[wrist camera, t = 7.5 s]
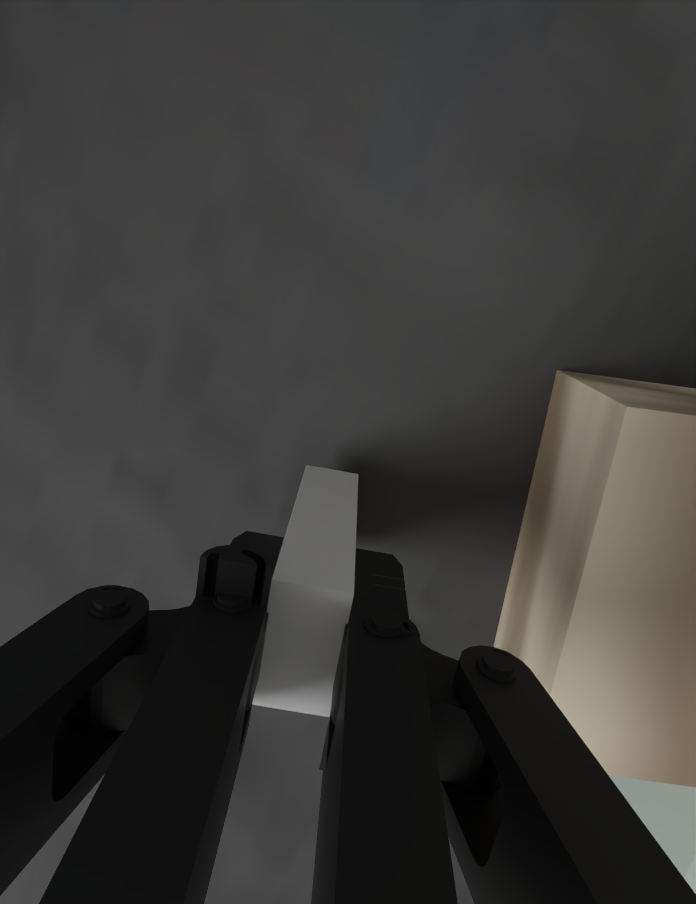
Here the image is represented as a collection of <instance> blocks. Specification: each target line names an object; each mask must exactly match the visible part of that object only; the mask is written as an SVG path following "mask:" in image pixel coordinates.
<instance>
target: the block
mask: <svg viewBox="0 0 696 904" xmlns="http://www.w3.org/2000/svg"><path fill="white" fill-rule="evenodd" d="M494 647H495V648H499V649H501V650H505V651H507V652H509V653H510V654H512V655H514V656H515V657H517V658H519V659H520V660H522V661H523V662H524V663H525V664H526V665H527V666H528V667H529V668H530V669H531V671H532V672H533V673H534V675H535V676H536V677H537V679H538V680H539V681H540V683H541V684H542V686H543V687H544V688H545V690H546V691H547V692H548V694H549V695H550V696H551V698H552V699H553V701H554V702H555V703H556V705H557V706H558V707H559V709H560V710H561V711H562V713H563V714H564V716H565V717H566V718H567V720H568V721H569V722H570V724H571V725H572V726H573V728H574V729H575V731H576V732H577V733H578V735H579V736H580V737H581V739H582V740H583V741H584V743H585V744H586V745H587V747H588V748H589V750H590V751H591V752H592V754H593V755H594V756H595V758H596V759H597V760H598V762H599V763H600V765H601V766H602V767H603V769H604V770H605V771H606V773H607V774H608V775H609V776H616V777H623V778H630V779H638V780H645V781H652V782H660V783H667V784H674V785H682V786H689V787H696V388H688V387H681V386H673V385H666V384H659V383H651V382H644V381H636V380H629V379H622V378H614V377H607V376H599V375H592V374H584V373H577V372H570V371H562V370H557V372H556V377H555V381H554V385H553V390H552V394H551V399H550V403H549V407H548V412H547V416H546V420H545V425H544V429H543V433H542V438H541V442H540V446H539V451H538V455H537V460H536V464H535V468H534V473H533V477H532V481H531V486H530V490H529V494H528V499H527V503H526V508H525V512H524V516H523V521H522V525H521V529H520V534H519V538H518V542H517V547H516V551H515V555H514V560H513V564H512V569H511V573H510V577H509V582H508V586H507V590H506V595H505V599H504V603H503V608H502V612H501V616H500V621H499V625H498V630H497V634H496V638H495V643H494Z"/></svg>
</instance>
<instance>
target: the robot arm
mask: <svg viewBox="0 0 696 904" xmlns="http://www.w3.org/2000/svg"><path fill="white" fill-rule="evenodd" d="M357 499H358V474H355V473H349V472H344V471H338V470H332V469H327V468H321V467H315V466H310V465H306V467H305V471H304V474H303V477H302V481H301V484H300V487H299V491H298V494H297V497H296V500H295V504H294V507H293V510H292V514H291V517H290V520H289V524H288V527H287V530H286V534H285V537H278V536H272V535H267V534H261V533H255V532H249V531H246V532H244V533H243V534H241V535H239V536H238V537H236V538H234V539H233V541H232V543H231V545H226V546H217V547H214V548H212V549H209V550H206V551H205V552H204V553H203V554H202V555H201V556H200V564H199V573H198V582H197V591H196V597H195V599H194V601H193V603H192V605H190V606H188V607H184V608H180V609H173V610H151V611H149V601H148V600H147V598H146V597H145V596H144V595H143V594H142V593H140V592H138V591H136V590H134V589H132V588H127V587H122V586H116V585H112V586H111V585H107V586H100V587H95V588H91V589H87V590H85V591H83V592H81V593H79V594H77V595H75V596H74V597H72V598H71V599H69V600H68V601H66V602H65V603H63V604H62V605H60V606H59V607H58V608H56V609H55V610H53V611H52V612H50V613H49V614H47V615H46V616H44V617H43V618H41V619H40V620H39V621H37V622H36V623H34V624H33V625H31V626H30V627H28V628H27V629H25V630H24V631H22V632H21V633H20V634H18V635H17V636H15V637H14V638H12V639H11V640H9V641H8V642H6V643H5V644H3V645H2V646H1V647H0V895H1V894H2V893H3V892H4V891H5V890H6V888H7V887H8V886H9V885H10V884H11V883H12V881H13V880H14V879H15V878H16V877H17V876H18V874H19V873H20V872H21V871H22V870H23V869H24V867H25V866H26V865H27V864H28V863H29V862H30V860H31V859H32V858H33V857H34V856H35V855H36V853H37V852H38V851H39V850H40V849H41V848H42V846H43V845H44V844H45V843H46V842H47V841H48V839H49V838H50V837H51V836H52V835H53V834H54V832H55V831H56V830H57V829H58V828H59V827H60V825H61V824H62V823H63V822H64V821H65V820H66V818H67V817H68V816H69V815H70V814H71V813H72V811H73V810H74V809H75V808H76V807H77V806H78V804H79V803H80V802H81V801H82V800H83V799H84V797H85V796H86V795H87V794H88V793H89V792H90V790H91V789H92V788H93V787H94V786H95V785H96V783H97V782H98V781H99V780H100V779H101V778H102V776H103V775H104V774H105V775H104V777H103V779H102V781H101V783H100V785H99V787H98V789H97V791H96V793H95V795H94V797H93V799H92V801H91V803H90V805H89V807H88V809H87V811H86V813H85V815H84V817H83V819H82V820H81V822H80V824H79V826H78V828H77V830H76V832H75V834H74V836H73V838H72V840H71V842H70V844H69V846H68V848H67V850H66V852H65V854H64V856H63V858H62V860H61V862H60V864H59V866H58V868H57V869H56V871H55V873H54V875H53V877H52V879H51V881H50V883H49V885H48V887H47V889H46V891H45V893H44V895H43V897H42V899H41V901H40V903H39V904H204V901H205V897H206V893H207V889H208V885H209V881H210V877H211V873H212V869H213V865H214V861H215V857H216V853H217V850H218V846H219V842H220V838H221V834H222V830H223V826H224V822H225V818H226V814H227V810H228V806H229V802H230V798H231V794H232V790H233V786H234V782H235V778H236V774H237V770H238V766H239V762H240V758H241V754H242V750H243V746H244V742H245V738H246V734H247V730H248V726H249V721H250V715H251V708H252V705H258V706H264V707H270V708H276V709H282V710H288V711H294V712H300V713H306V714H313V715H319V716H325V717H329V716H330V719H329V724H328V729H327V734H326V739H325V744H324V749H323V754H322V759H321V764H320V770H323V776H322V787H321V799H320V810H319V821H318V832H317V844H316V855H315V866H314V877H313V889H312V900H311V904H458V903H457V896H456V889H455V882H454V875H453V868H452V861H451V854H450V847H449V839H450V842H451V844H452V847H453V850H454V852H455V855H456V857H457V860H458V862H459V865H460V867H461V870H462V873H463V875H464V878H465V880H466V883H467V885H468V888H469V890H470V893H471V896H472V898H473V901H474V903H475V904H696V894H695V893H694V891H693V890H692V888H691V887H690V886H689V884H688V883H687V882H686V880H685V879H684V878H683V876H682V875H681V873H680V872H679V871H678V869H677V868H676V867H675V865H674V864H673V863H672V861H671V860H670V859H669V857H668V856H667V854H666V853H665V852H664V850H663V849H662V848H661V846H660V845H659V844H658V842H657V841H656V839H655V838H654V837H653V835H652V834H651V833H650V831H649V830H648V829H647V827H646V826H645V824H644V823H643V822H642V820H641V819H640V818H639V816H638V815H637V814H636V812H635V811H634V809H633V808H632V807H631V805H630V804H629V803H628V801H627V800H626V799H625V797H624V796H623V795H622V793H621V792H620V790H619V789H618V788H617V786H616V785H615V784H614V782H613V781H612V780H611V778H610V777H609V775H608V774H607V773H606V771H605V770H604V769H603V767H602V766H601V765H600V763H599V762H598V760H597V759H596V758H595V756H594V755H593V754H592V752H591V751H590V750H589V748H588V747H587V745H586V744H585V743H584V741H583V740H582V739H581V737H580V736H579V735H578V733H577V732H576V731H575V729H574V728H573V726H572V725H571V724H570V722H569V721H568V720H567V718H566V717H565V716H564V714H563V713H562V711H561V710H560V709H559V707H558V706H557V705H556V703H555V702H554V701H553V699H552V698H551V696H550V695H549V694H548V692H547V691H546V690H545V688H544V687H543V686H542V684H541V683H540V681H539V680H538V679H537V677H536V676H535V675H534V673H533V672H532V671H531V669H530V668H529V667H528V666H527V665H526V664H525V663H524V662H523V661H522V660H520V659H519V658H517V657H515V656H514V655H512V654H510V653H509V652H507V651H505V650H501V649H499V648H495V647H488V646H473V647H469V648H467V649H466V650H464V651H462V654H461V656H460V659H459V661H458V660H455V659H452V658H450V657H447V656H444V655H442V654H440V653H438V652H435V651H433V650H431V649H430V648H428V647H427V646H425V645H424V644H422V643H421V641H420V634H419V631H418V629H417V627H416V625H415V624H414V623H413V622H412V621H411V620H409V616H408V608H407V599H406V591H405V583H404V575H403V566H402V565H401V564H400V563H399V562H398V560H397V559H396V558H395V557H394V556H393V555H392V554H386V553H380V552H375V551H369V550H363V549H357V548H356V527H357ZM252 702H253V703H252ZM330 711H331V714H330ZM448 837H449V839H448Z"/></svg>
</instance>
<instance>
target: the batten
mask: <svg viewBox="0 0 696 904" xmlns="http://www.w3.org/2000/svg"><path fill="white" fill-rule="evenodd" d="M609 777H610V778H611V780H612V781H613V782H614V784H615V785H616V786H617V788H618V789H619V790H620V792H621V793H622V795H623V796H624V797H625V799H626V800H627V801H628V803H629V804H630V805H631V807H632V808H633V809H634V811H635V812H636V814H637V815H638V816H639V818H640V819H641V820H642V822H643V823H644V824H645V826H646V827H647V829H648V830H649V831H650V833H651V834H652V835H653V837H654V838H655V839H656V841H657V842H658V844H659V845H660V846H661V848H662V849H663V850H664V852H665V853H666V854H667V856H668V857H669V859H670V860H671V861H672V863H673V864H674V865H675V867H676V868H677V869H678V871H679V872H680V873H681V875H682V876H683V878H684V879H685V880H686V882H687V883H688V884H689V886H690V887H691V888H692V890H693V891H694V893H695V894H696V787H689V786H682V785H674V784H667V783H660V782H652V781H645V780H638V779H630V778H623V777H616V776H609Z"/></svg>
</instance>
